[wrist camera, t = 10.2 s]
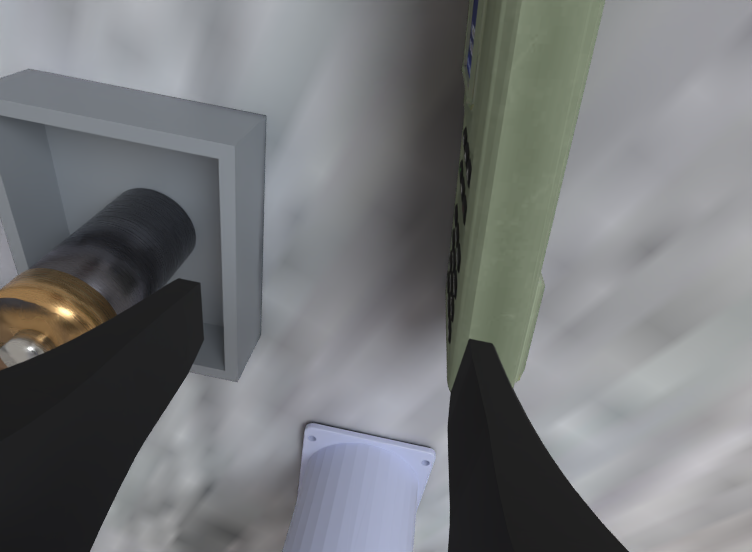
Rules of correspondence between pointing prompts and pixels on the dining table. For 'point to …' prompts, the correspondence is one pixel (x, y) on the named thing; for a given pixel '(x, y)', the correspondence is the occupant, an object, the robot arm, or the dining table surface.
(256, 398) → the dining table surface
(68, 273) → the battery cell
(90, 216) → the cell bin
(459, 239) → the handheld radio
